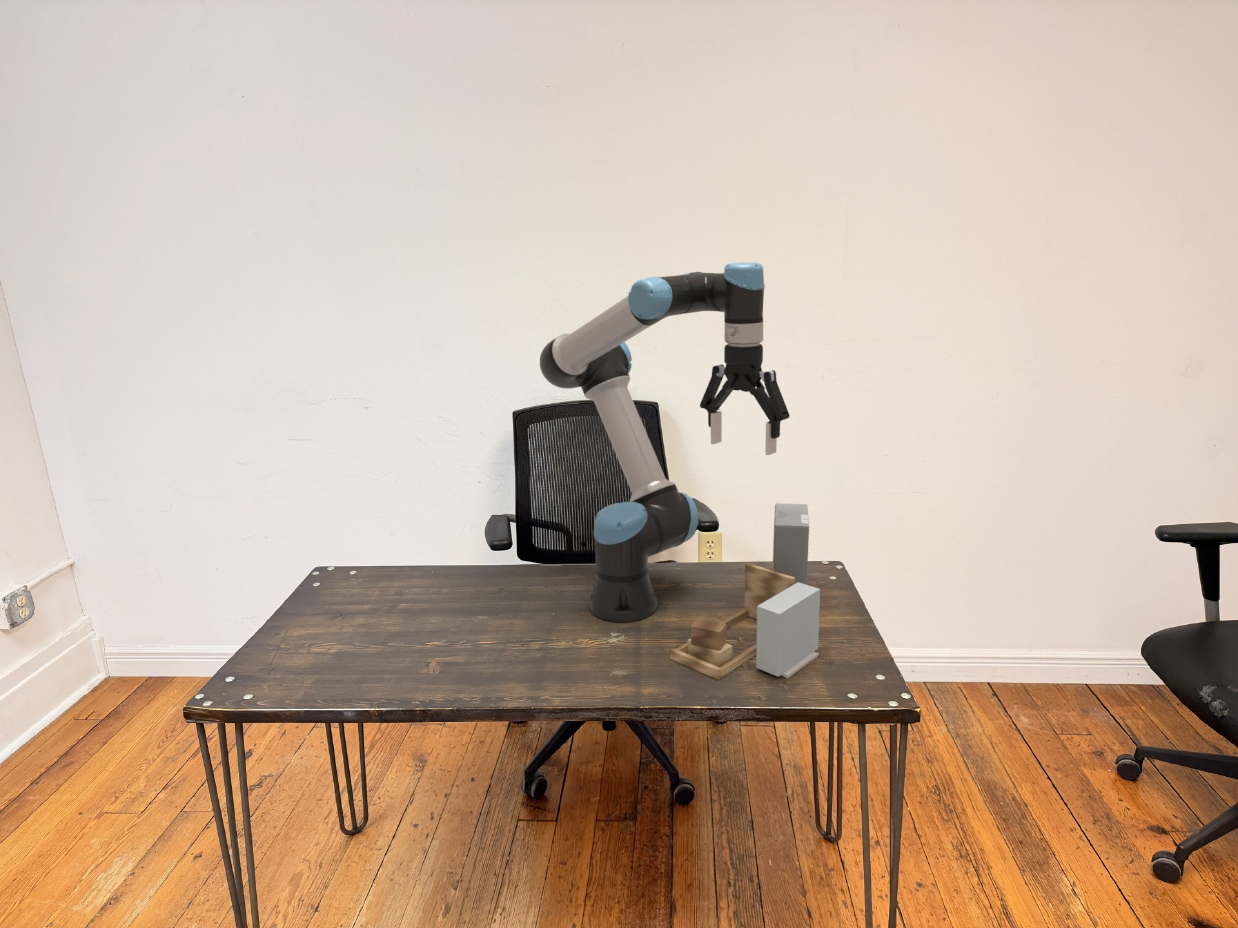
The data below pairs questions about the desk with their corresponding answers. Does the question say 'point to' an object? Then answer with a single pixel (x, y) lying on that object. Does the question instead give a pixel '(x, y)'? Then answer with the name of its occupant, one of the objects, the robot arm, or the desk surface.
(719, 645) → the offcut upper
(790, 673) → the mat
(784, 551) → the hard drive box
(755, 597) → the rack
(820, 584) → the desk surface
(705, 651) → the offcut lower
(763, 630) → the grey rectangular block
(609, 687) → the desk surface
